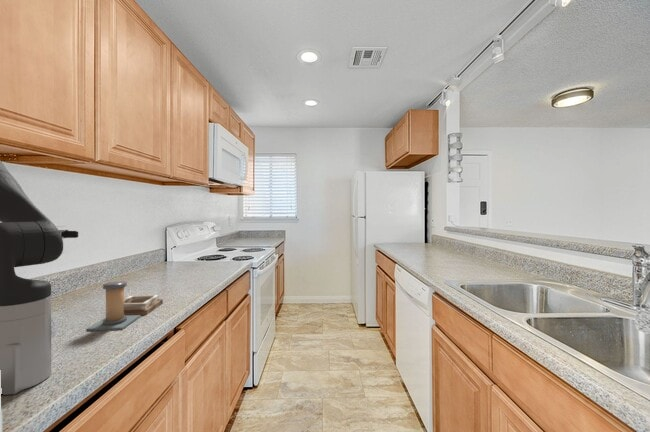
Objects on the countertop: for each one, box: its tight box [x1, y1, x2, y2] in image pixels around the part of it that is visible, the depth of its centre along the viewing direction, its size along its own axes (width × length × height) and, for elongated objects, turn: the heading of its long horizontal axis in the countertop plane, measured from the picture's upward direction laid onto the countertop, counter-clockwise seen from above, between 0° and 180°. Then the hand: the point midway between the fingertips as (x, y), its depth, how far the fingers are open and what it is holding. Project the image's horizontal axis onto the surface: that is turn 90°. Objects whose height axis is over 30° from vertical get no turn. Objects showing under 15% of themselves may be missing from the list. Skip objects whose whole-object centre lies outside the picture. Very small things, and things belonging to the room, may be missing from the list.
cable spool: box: [102, 280, 128, 325], centre depth 88 cm, size 6×6×12 cm
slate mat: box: [86, 315, 142, 332], centre depth 88 cm, size 10×10×1 cm
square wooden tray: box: [124, 294, 164, 316], centre depth 101 cm, size 12×12×4 cm
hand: (66, 235), depth 86 cm, fingers open, 8 cm apart
